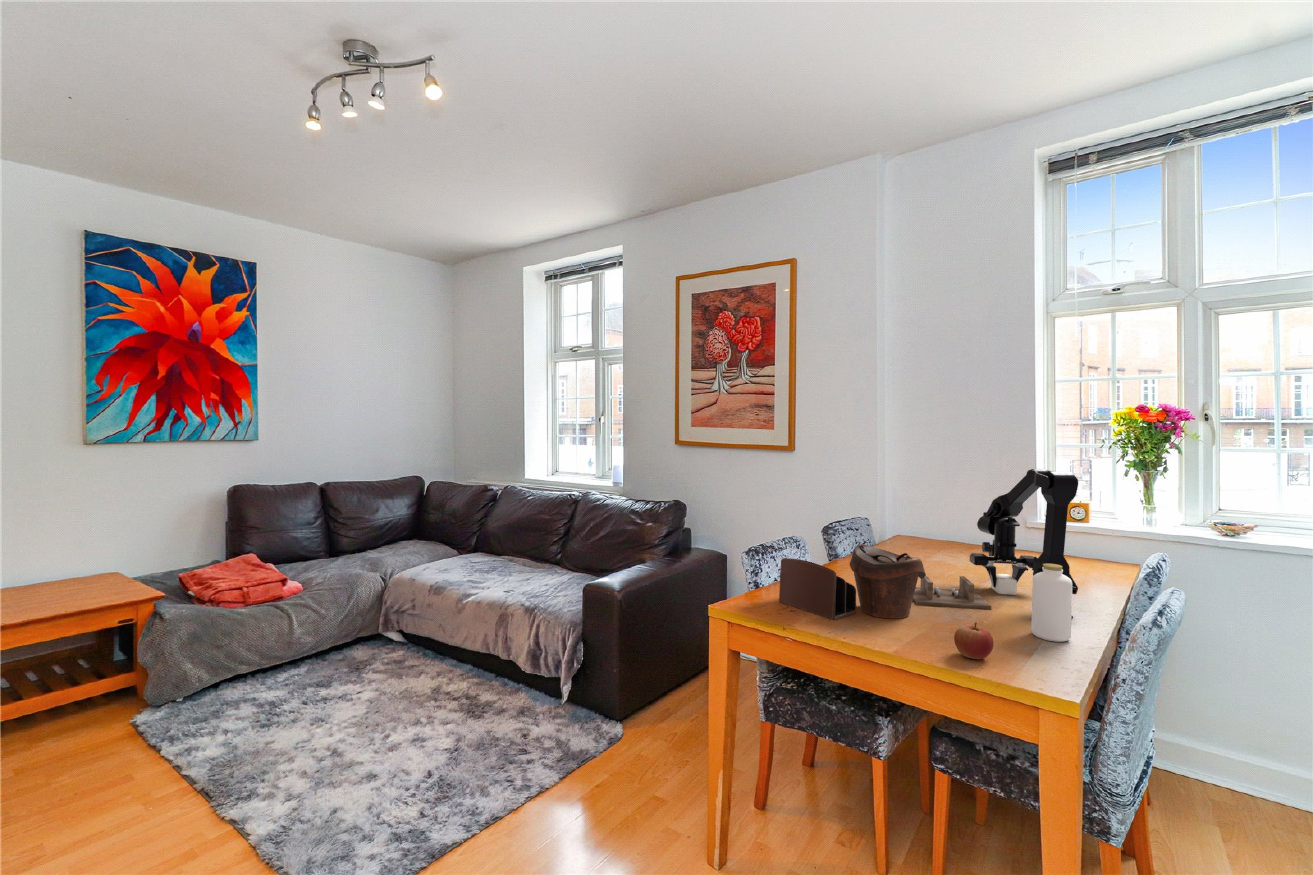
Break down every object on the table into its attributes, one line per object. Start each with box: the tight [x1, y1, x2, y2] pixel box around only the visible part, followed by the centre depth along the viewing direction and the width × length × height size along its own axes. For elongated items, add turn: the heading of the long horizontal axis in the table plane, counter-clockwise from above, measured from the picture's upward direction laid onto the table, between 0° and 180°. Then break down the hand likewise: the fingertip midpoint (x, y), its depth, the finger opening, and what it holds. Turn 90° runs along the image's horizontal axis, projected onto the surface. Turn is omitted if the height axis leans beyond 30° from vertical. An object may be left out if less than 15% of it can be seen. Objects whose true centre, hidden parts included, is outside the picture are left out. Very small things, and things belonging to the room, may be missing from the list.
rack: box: [912, 575, 992, 610], centre depth 184 cm, size 16×20×6 cm
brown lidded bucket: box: [849, 543, 927, 620], centre depth 171 cm, size 18×20×18 cm
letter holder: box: [778, 557, 857, 621], centre depth 174 cm, size 10×20×14 cm, turn 36°
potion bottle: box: [1031, 564, 1073, 643], centre depth 152 cm, size 8×8×18 cm
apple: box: [953, 622, 994, 660], centre depth 139 cm, size 8×8×8 cm
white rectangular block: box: [990, 573, 1018, 596], centre depth 193 cm, size 8×5×4 cm, turn 168°
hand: (1003, 587), depth 193 cm, fingers closed on white rectangular block, 5 cm apart
